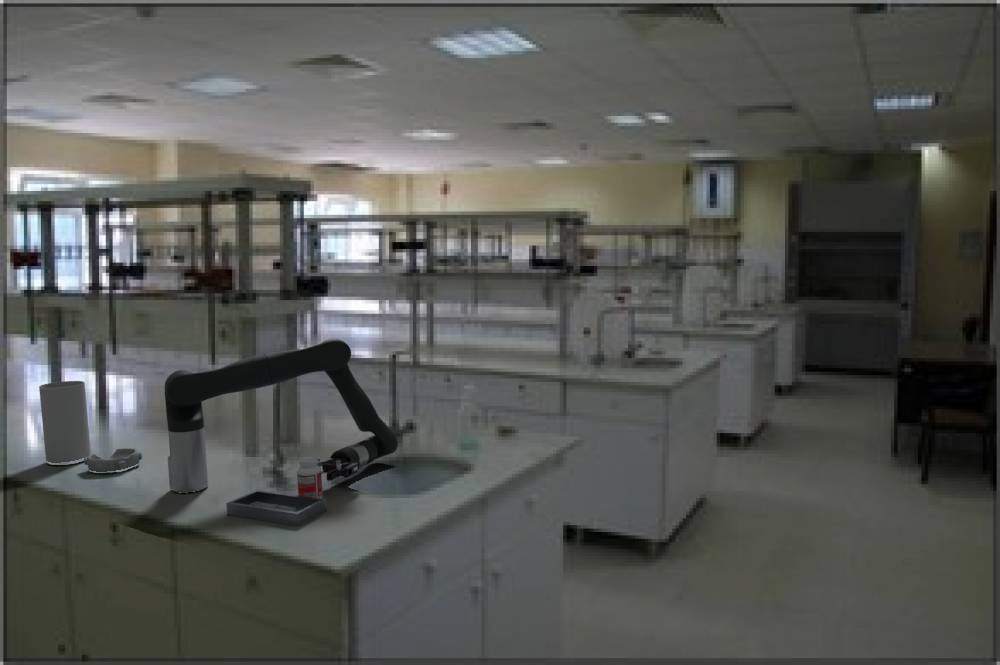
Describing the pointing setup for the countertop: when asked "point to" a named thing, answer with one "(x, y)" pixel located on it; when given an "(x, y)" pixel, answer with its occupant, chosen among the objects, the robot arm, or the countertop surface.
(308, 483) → the pill bottle
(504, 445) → the countertop surface
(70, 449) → the cylinder vase
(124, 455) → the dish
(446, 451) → the countertop surface
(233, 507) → the rectangular tray
